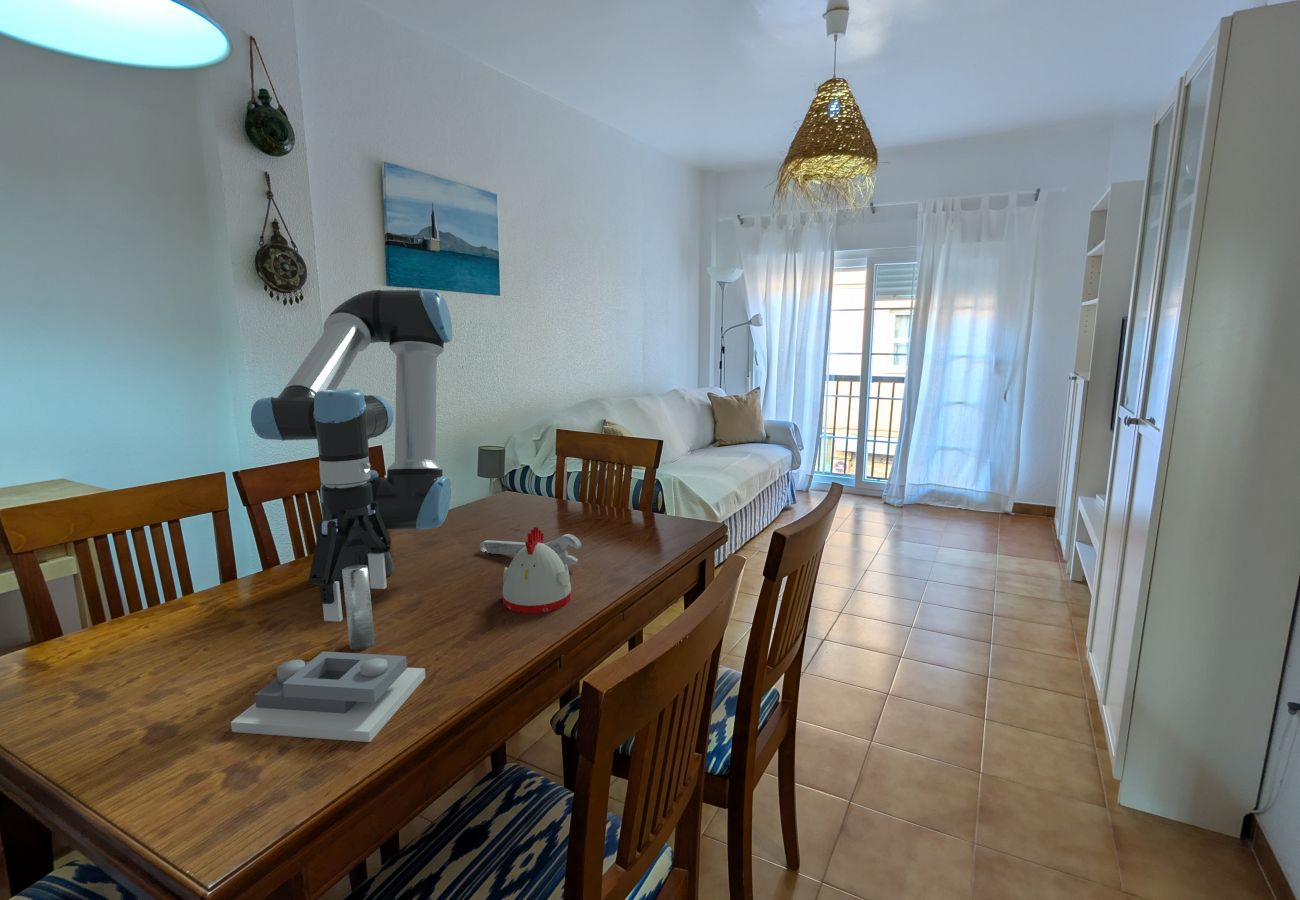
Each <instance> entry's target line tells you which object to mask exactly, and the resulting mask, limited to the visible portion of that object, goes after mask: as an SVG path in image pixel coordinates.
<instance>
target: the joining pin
mask: <svg viewBox="0 0 1300 900" xmlns="http://www.w3.org/2000/svg"><path fill="white" fill-rule="evenodd" d="M342 574H343V584H344V587H343V591H344V592H343V593H344V602H345V612H346V621H347V633H348V642H349V649H350V650H354V651H362V650H365V649H369V648H371V647H372V646H374V645H375V643H376V639H375V631H374V629H375V628H374V619H373V618H374V617H373V610H372V607H373V606H372V596H371V586H370V584H369V574H368V566H367V565H362V564H358V565H352V566H348V567H346V568H344V569H343V570H342Z"/></svg>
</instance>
